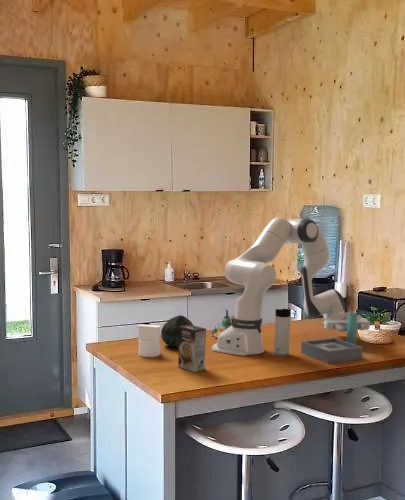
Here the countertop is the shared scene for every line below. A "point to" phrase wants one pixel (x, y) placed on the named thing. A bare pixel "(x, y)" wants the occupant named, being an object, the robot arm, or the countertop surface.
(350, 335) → the peg
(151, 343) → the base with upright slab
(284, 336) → the travel mug
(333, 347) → the plate
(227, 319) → the frog figurine
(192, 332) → the coffee box
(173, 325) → the squash
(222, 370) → the countertop surface
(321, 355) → the box
